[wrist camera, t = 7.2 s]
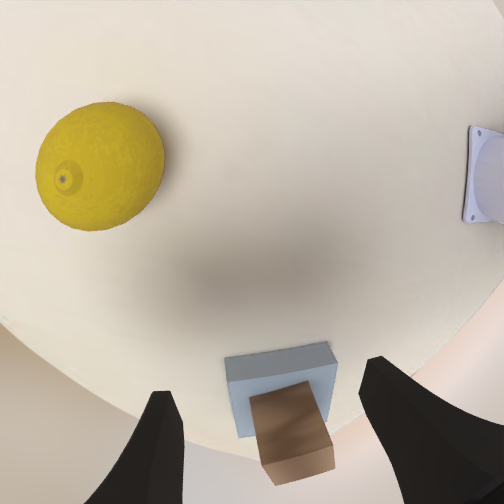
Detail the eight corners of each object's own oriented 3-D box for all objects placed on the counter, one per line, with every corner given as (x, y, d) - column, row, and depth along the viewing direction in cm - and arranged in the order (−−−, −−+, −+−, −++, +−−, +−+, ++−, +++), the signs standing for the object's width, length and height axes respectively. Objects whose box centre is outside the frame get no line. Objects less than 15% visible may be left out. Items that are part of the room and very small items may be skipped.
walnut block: (307, 380, 20) (333, 445, 15) (313, 411, 22) (335, 468, 17) (248, 397, 20) (261, 465, 15) (262, 426, 22) (275, 485, 16)
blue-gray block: (324, 337, 23) (337, 362, 20) (317, 398, 26) (326, 421, 23) (224, 353, 22) (227, 382, 19) (235, 412, 25) (238, 438, 22)
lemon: (175, 106, 14) (146, 83, 7) (173, 203, 16) (147, 262, 9) (83, 113, 14) (0, 109, 6) (85, 205, 16) (13, 260, 8)
